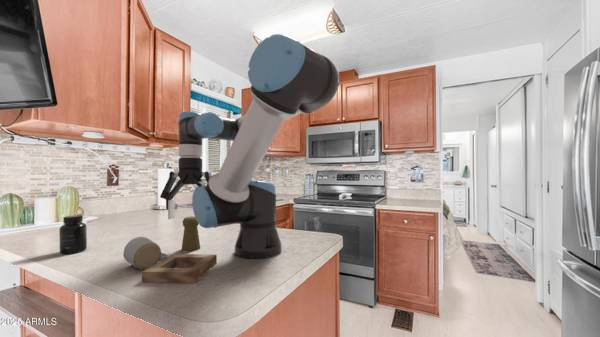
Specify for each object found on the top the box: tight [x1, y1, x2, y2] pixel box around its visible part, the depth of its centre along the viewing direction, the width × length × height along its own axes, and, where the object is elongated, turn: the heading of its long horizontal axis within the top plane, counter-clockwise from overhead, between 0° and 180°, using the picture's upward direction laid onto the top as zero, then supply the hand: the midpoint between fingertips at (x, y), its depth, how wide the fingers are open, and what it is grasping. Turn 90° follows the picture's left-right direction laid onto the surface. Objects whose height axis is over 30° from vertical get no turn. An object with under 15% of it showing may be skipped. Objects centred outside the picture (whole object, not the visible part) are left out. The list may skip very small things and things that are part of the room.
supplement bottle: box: [59, 214, 88, 255], centre depth 85 cm, size 7×7×12 cm
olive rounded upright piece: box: [180, 216, 201, 252], centre depth 86 cm, size 6×6×11 cm
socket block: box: [141, 253, 218, 284], centre depth 66 cm, size 13×13×2 cm
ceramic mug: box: [122, 236, 170, 270], centre depth 72 cm, size 11×8×8 cm
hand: (190, 219), depth 87 cm, fingers open, 13 cm apart
